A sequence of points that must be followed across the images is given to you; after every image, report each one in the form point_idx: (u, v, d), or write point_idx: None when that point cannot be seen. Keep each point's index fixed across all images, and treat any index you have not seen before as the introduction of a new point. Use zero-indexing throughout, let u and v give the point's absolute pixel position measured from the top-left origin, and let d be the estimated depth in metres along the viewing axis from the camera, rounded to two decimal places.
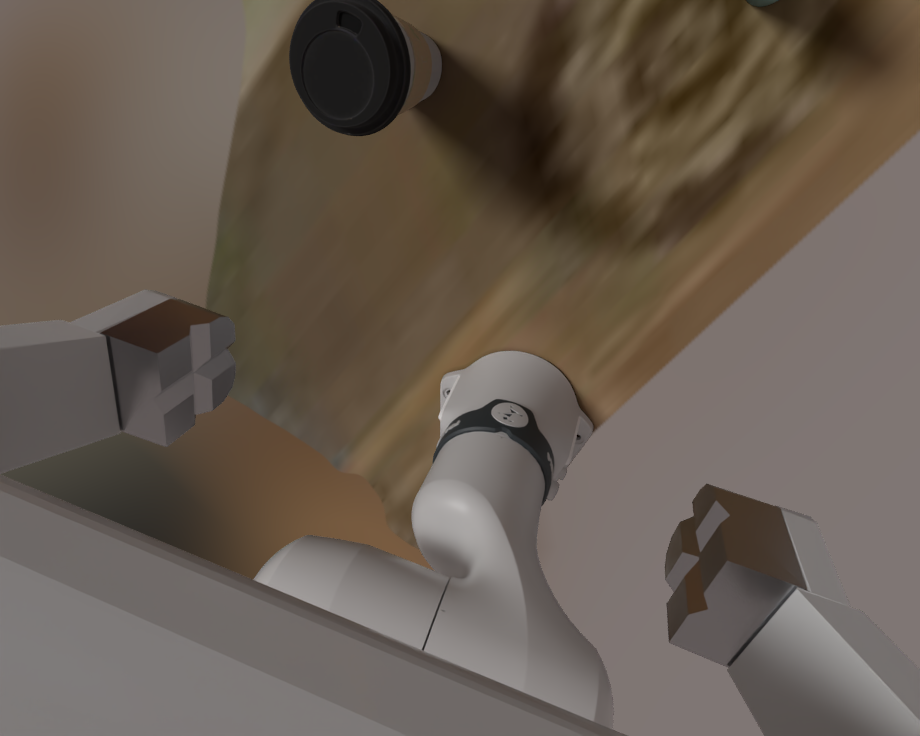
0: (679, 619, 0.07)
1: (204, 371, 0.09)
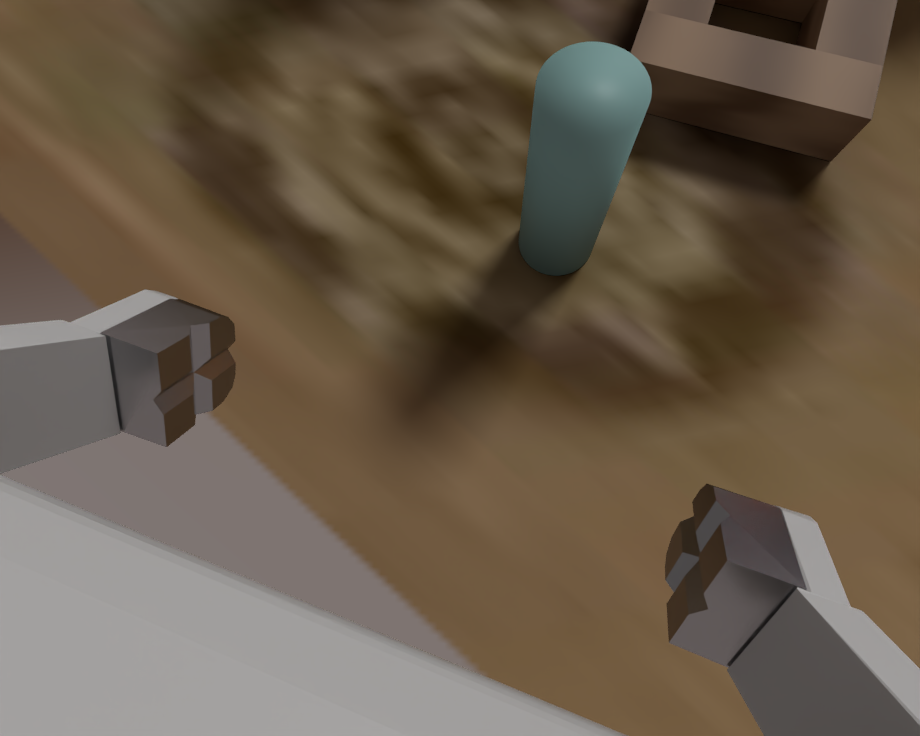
0: (679, 620, 0.07)
1: (204, 371, 0.09)
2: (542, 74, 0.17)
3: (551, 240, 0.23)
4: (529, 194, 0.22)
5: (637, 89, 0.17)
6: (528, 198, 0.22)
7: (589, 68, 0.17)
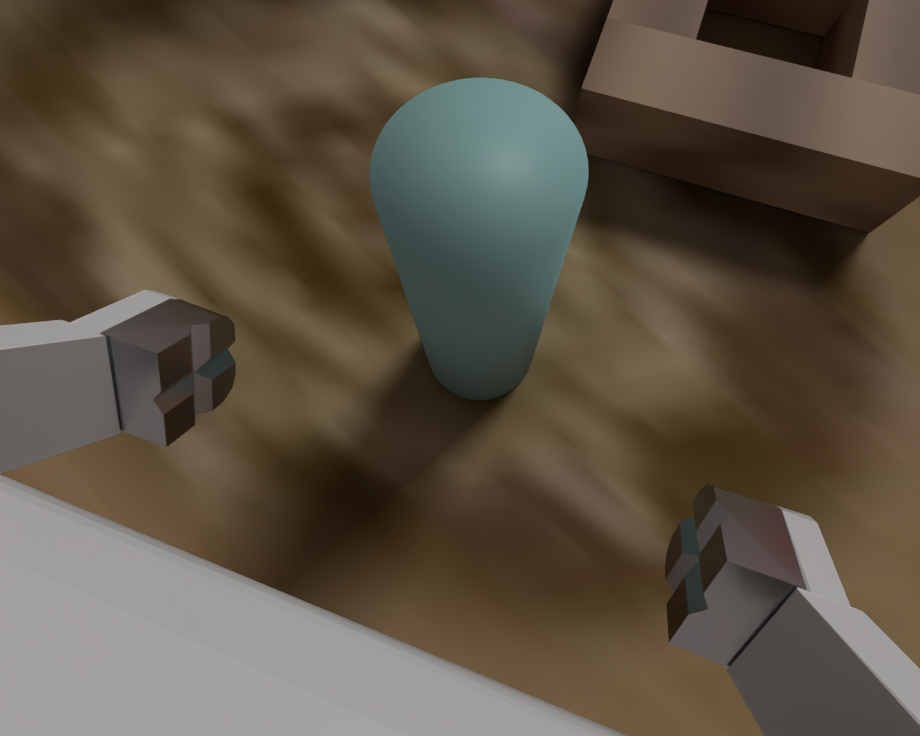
0: (678, 619, 0.07)
1: (204, 371, 0.09)
2: (384, 139, 0.09)
3: (456, 371, 0.15)
4: None
5: (561, 171, 0.09)
6: (413, 315, 0.14)
7: (473, 128, 0.09)
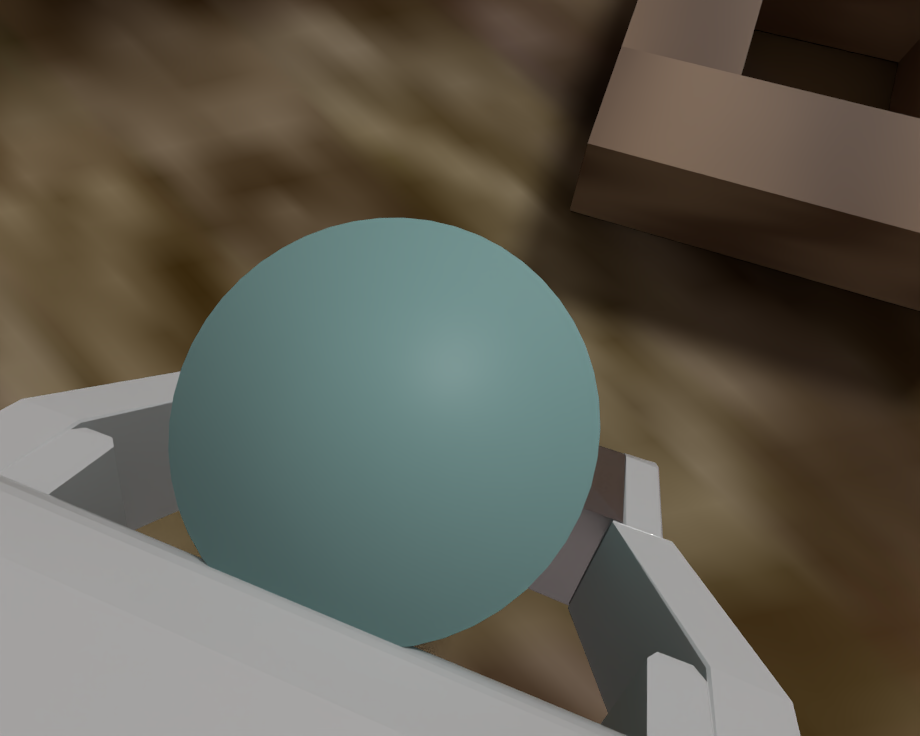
0: None
1: None
2: (204, 347, 0.05)
3: None
4: None
5: (544, 423, 0.04)
6: None
7: (375, 325, 0.05)
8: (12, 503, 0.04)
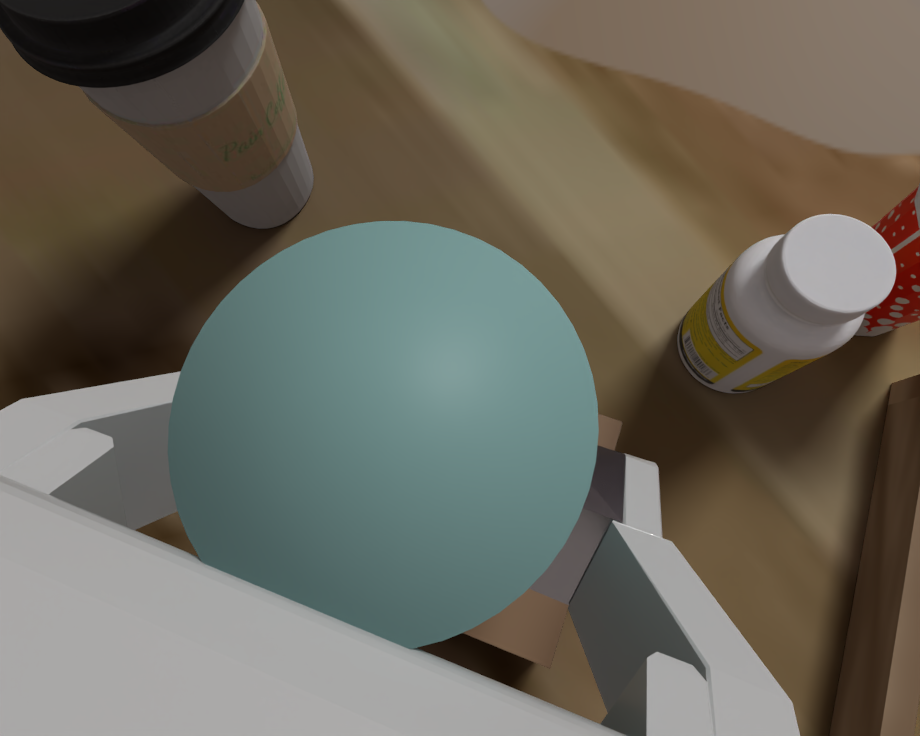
0: None
1: None
2: (203, 350, 0.05)
3: None
4: None
5: (544, 425, 0.04)
6: None
7: (375, 328, 0.05)
8: (12, 503, 0.04)
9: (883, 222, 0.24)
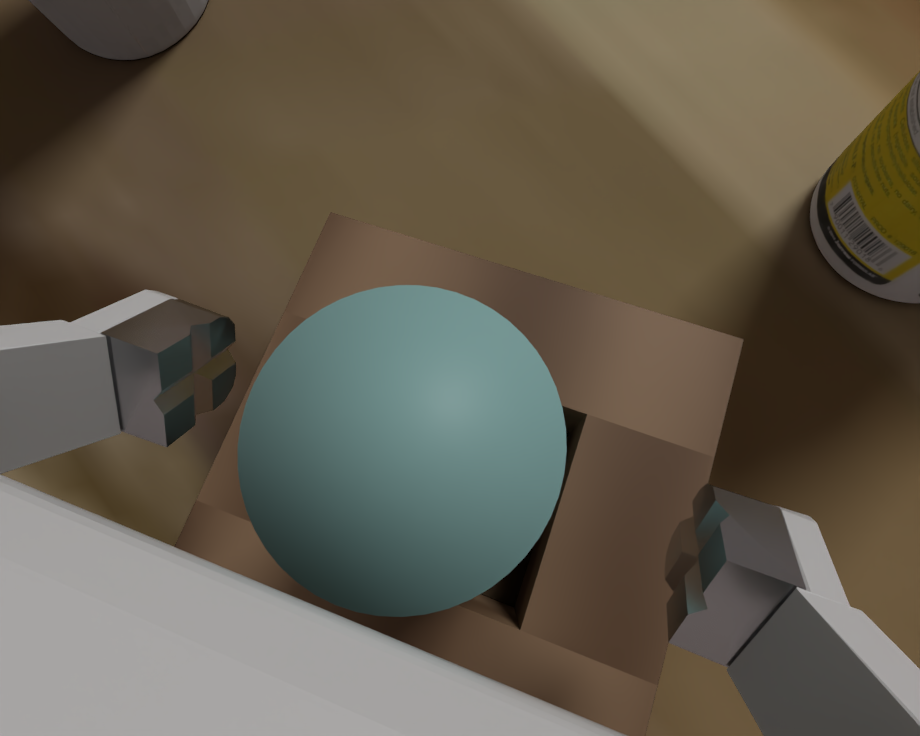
0: (678, 619, 0.07)
1: (204, 371, 0.09)
2: (263, 387, 0.06)
3: None
4: None
5: (525, 447, 0.06)
6: None
7: (395, 370, 0.06)
8: (12, 503, 0.04)
9: None
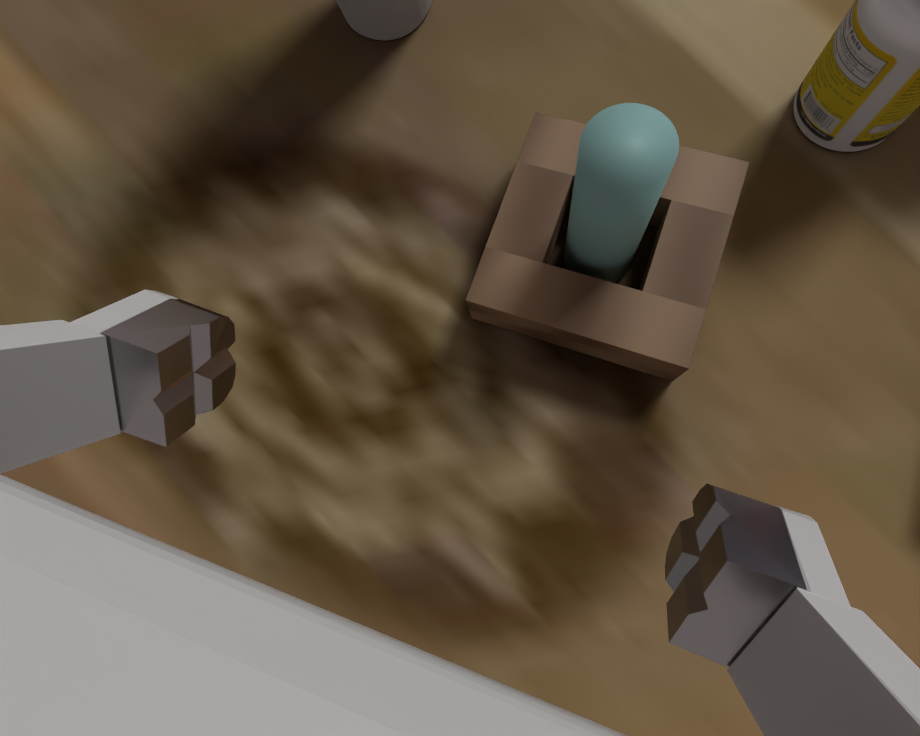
0: (679, 619, 0.07)
1: (204, 371, 0.09)
2: (585, 134, 0.21)
3: (593, 261, 0.26)
4: (574, 224, 0.25)
5: (666, 145, 0.20)
6: (573, 227, 0.25)
7: (625, 127, 0.20)
8: (12, 503, 0.04)
9: None
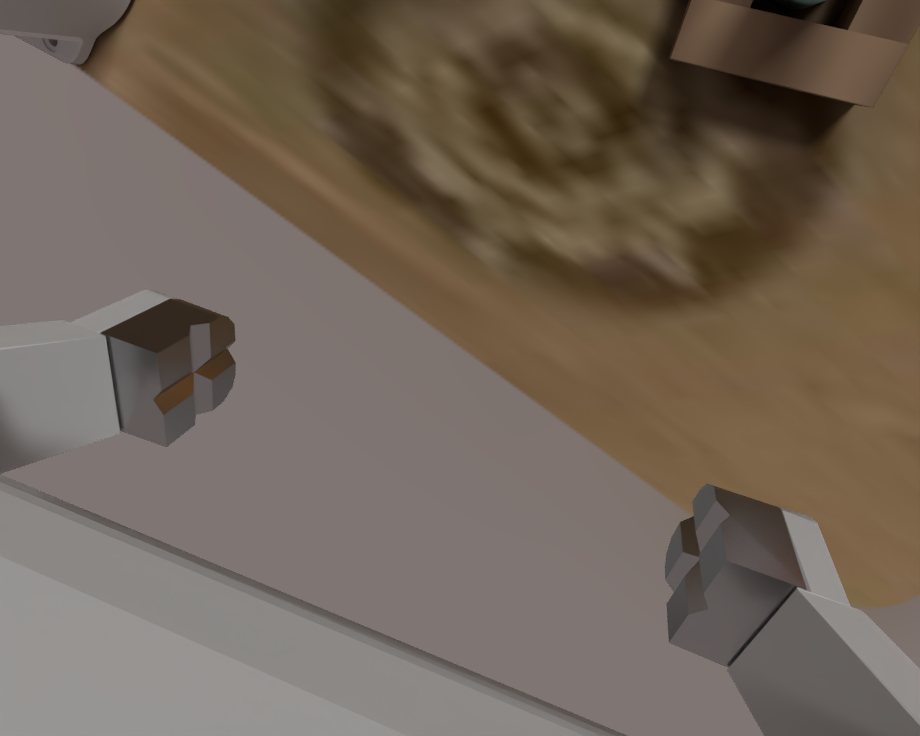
0: (679, 620, 0.07)
1: (204, 371, 0.09)
2: None
3: (803, 1, 0.28)
4: None
5: None
6: None
7: None
8: (12, 503, 0.04)
9: None
